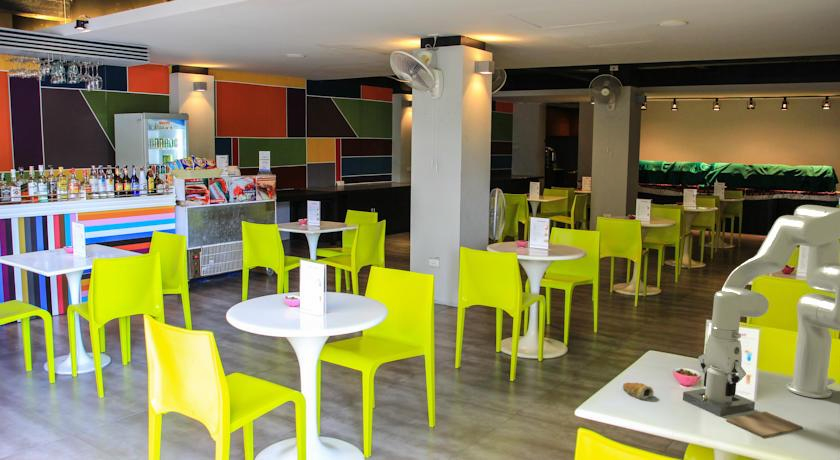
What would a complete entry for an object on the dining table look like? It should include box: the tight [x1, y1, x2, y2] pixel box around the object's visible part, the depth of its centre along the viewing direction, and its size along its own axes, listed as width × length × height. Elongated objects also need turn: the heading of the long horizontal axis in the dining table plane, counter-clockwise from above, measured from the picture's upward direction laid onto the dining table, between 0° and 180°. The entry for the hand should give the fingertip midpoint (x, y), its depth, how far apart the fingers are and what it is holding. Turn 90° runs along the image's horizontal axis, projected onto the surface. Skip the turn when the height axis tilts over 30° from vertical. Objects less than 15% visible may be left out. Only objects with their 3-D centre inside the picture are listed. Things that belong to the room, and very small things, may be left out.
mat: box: [725, 411, 804, 439], centre depth 201 cm, size 16×12×1 cm
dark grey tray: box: [682, 387, 756, 418], centre depth 215 cm, size 14×14×4 cm
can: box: [705, 365, 733, 404], centre depth 214 cm, size 8×8×12 cm
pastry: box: [622, 382, 654, 400], centre depth 222 cm, size 9×7×4 cm
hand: (718, 390), depth 214 cm, fingers closed on can, 7 cm apart
